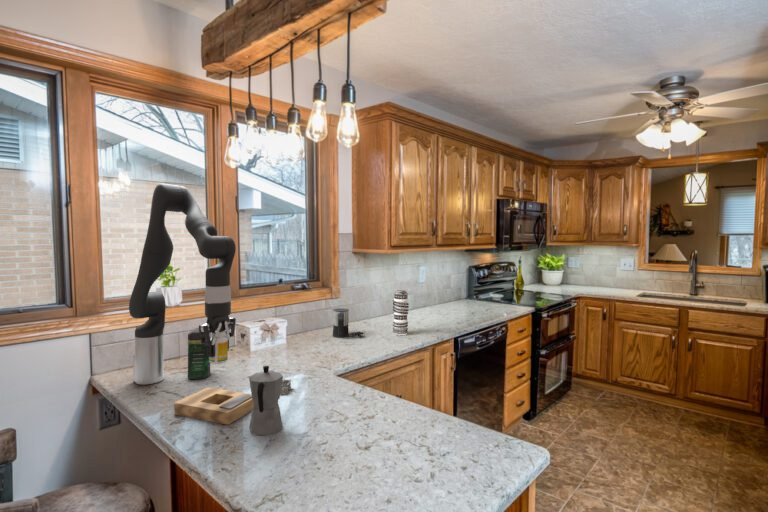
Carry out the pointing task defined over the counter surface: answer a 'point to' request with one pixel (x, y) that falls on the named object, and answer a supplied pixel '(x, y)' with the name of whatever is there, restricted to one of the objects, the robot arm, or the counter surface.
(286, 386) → the egg carton
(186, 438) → the counter surface
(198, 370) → the coffee jar
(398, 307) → the grey striped cylinder
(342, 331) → the milk frother
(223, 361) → the supplement bottle
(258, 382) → the coffeepot
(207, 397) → the jig
